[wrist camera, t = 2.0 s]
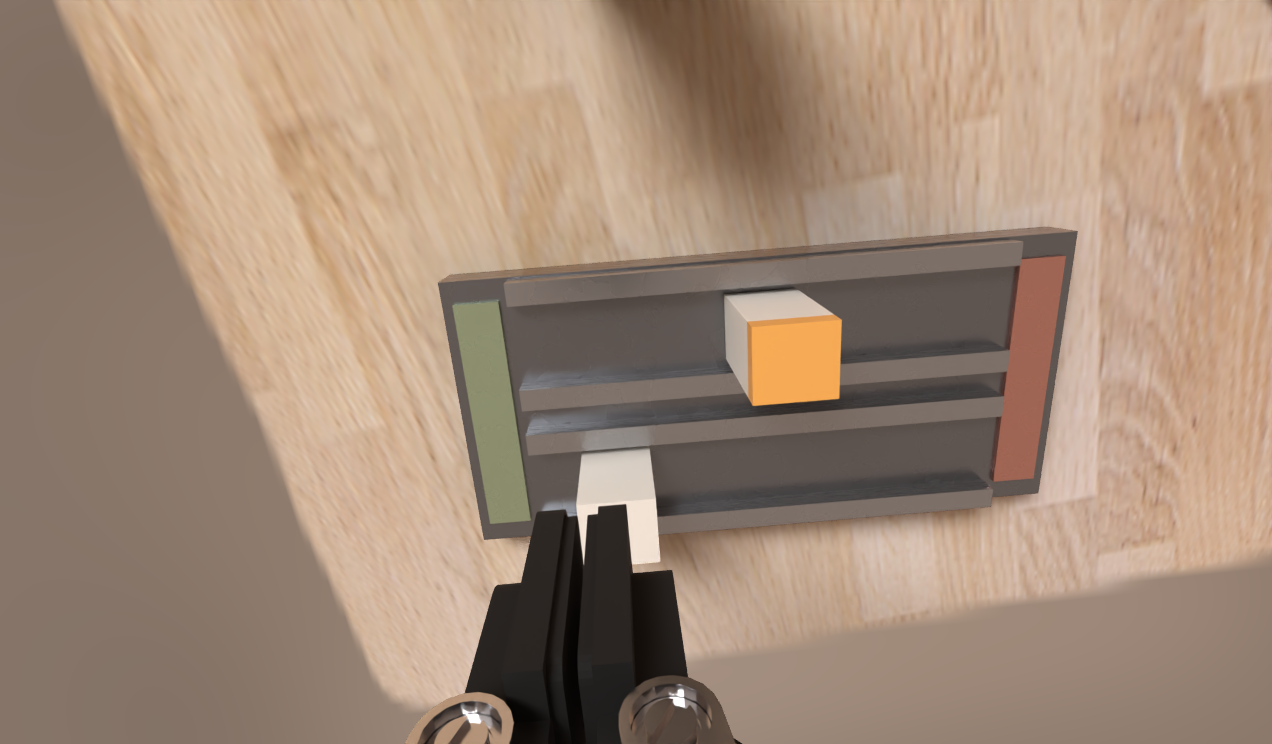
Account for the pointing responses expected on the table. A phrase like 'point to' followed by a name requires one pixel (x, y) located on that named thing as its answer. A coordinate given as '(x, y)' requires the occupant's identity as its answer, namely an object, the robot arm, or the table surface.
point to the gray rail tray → (717, 404)
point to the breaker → (621, 495)
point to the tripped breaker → (782, 346)
